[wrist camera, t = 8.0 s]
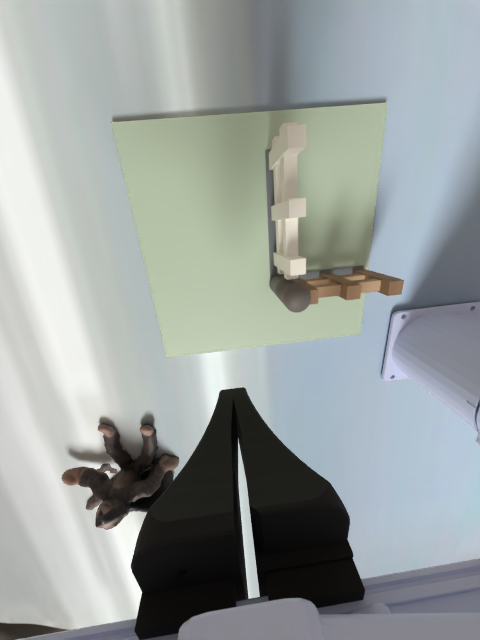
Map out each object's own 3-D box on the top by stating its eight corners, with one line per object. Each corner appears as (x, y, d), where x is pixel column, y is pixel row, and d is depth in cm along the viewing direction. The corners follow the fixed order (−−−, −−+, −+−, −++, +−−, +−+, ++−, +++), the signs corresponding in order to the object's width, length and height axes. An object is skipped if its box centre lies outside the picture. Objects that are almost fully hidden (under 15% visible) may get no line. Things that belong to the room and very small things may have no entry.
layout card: (384, 104, 17) (388, 101, 16) (358, 332, 23) (361, 334, 23) (112, 124, 16) (110, 121, 15) (167, 356, 22) (166, 358, 22)
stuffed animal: (185, 429, 25) (161, 566, 22) (186, 413, 34) (169, 508, 31) (63, 419, 23) (19, 569, 20) (99, 405, 32) (73, 505, 29)
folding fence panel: (285, 269, 20) (305, 281, 15) (274, 270, 19) (290, 283, 15) (282, 143, 16) (306, 111, 12) (268, 144, 16) (287, 113, 12)
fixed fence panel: (362, 263, 21) (408, 274, 16) (360, 283, 21) (403, 300, 16) (268, 273, 20) (284, 288, 15) (268, 293, 21) (285, 314, 16)
